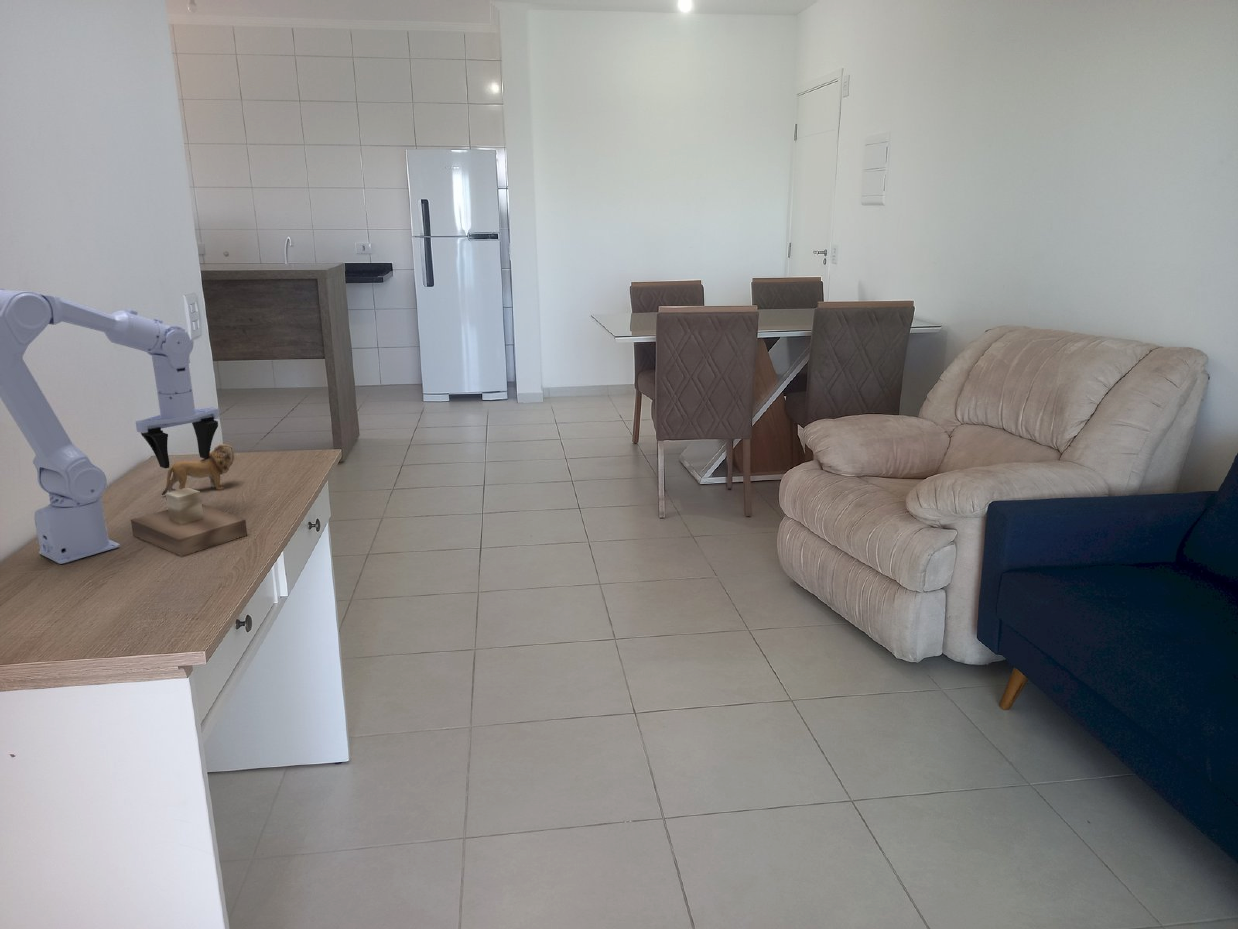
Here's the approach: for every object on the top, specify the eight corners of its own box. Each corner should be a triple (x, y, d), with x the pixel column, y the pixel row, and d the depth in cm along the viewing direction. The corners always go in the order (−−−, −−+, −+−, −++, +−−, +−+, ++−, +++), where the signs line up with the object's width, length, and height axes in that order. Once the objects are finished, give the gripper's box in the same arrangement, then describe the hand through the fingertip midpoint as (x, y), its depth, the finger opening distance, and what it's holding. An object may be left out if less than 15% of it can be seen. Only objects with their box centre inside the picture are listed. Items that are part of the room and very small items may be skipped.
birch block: (181, 524, 146) (177, 497, 144) (169, 519, 148) (165, 493, 146) (203, 518, 149) (199, 491, 147) (191, 513, 151) (187, 487, 149)
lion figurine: (233, 480, 180) (228, 440, 177) (241, 486, 176) (236, 445, 173) (158, 494, 170) (151, 452, 168) (165, 500, 166) (158, 457, 164)
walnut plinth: (181, 556, 140) (179, 539, 139) (133, 535, 148) (130, 519, 148) (247, 535, 149) (245, 519, 148) (198, 516, 158) (196, 501, 157)
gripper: (201, 382, 160) (210, 450, 164) (122, 394, 148) (134, 467, 152) (221, 387, 156) (230, 456, 160) (143, 400, 145) (154, 474, 149)
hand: (185, 462), depth 156 cm, fingers open, 7 cm apart
